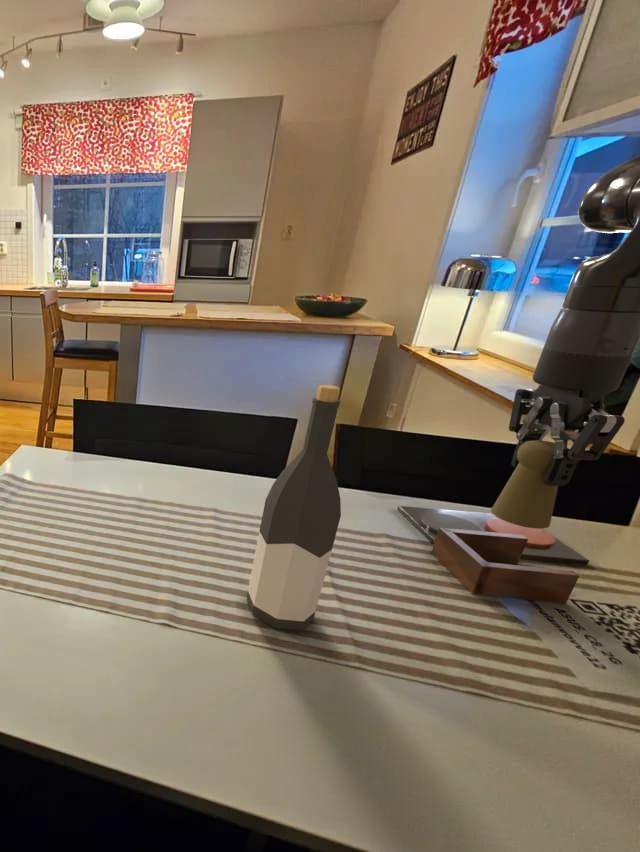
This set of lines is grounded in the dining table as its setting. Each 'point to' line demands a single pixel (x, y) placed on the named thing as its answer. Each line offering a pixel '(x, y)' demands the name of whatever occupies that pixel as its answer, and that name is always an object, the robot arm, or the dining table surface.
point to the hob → (538, 539)
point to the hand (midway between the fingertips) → (536, 475)
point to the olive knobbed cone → (528, 488)
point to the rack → (499, 566)
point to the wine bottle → (298, 527)
